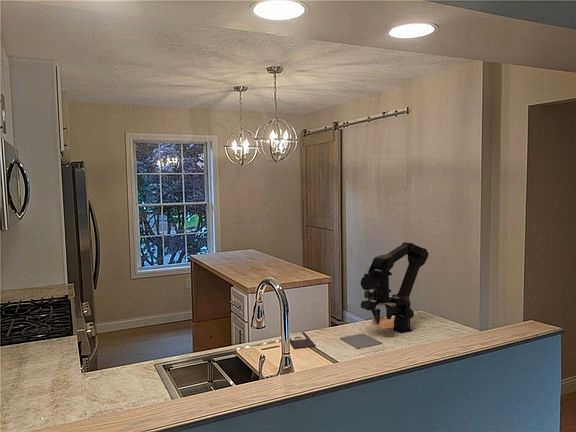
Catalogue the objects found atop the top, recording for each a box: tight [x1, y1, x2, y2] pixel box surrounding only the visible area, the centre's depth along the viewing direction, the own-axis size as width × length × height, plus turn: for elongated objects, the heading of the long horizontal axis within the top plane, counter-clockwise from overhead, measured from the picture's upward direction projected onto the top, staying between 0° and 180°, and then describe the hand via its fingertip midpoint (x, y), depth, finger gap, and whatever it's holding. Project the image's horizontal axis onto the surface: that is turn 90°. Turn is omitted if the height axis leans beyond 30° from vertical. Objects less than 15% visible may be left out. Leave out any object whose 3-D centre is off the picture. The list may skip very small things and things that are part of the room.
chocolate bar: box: [289, 331, 316, 350], centre depth 190 cm, size 9×1×18 cm
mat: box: [338, 332, 383, 350], centre depth 187 cm, size 12×14×1 cm
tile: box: [372, 316, 394, 330], centre depth 191 cm, size 5×8×2 cm, turn 24°
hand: (382, 322), depth 191 cm, fingers closed on tile, 5 cm apart
